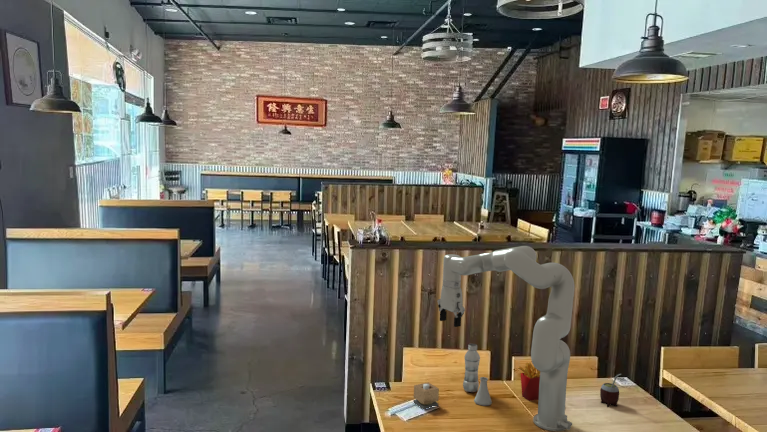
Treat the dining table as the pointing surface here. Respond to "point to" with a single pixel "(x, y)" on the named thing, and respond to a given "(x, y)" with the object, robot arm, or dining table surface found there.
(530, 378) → the french fries
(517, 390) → the dining table surface
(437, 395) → the collar
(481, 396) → the flask
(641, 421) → the dining table surface
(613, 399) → the mate gourd
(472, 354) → the plastic bottle
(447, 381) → the dining table surface
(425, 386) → the post stand
